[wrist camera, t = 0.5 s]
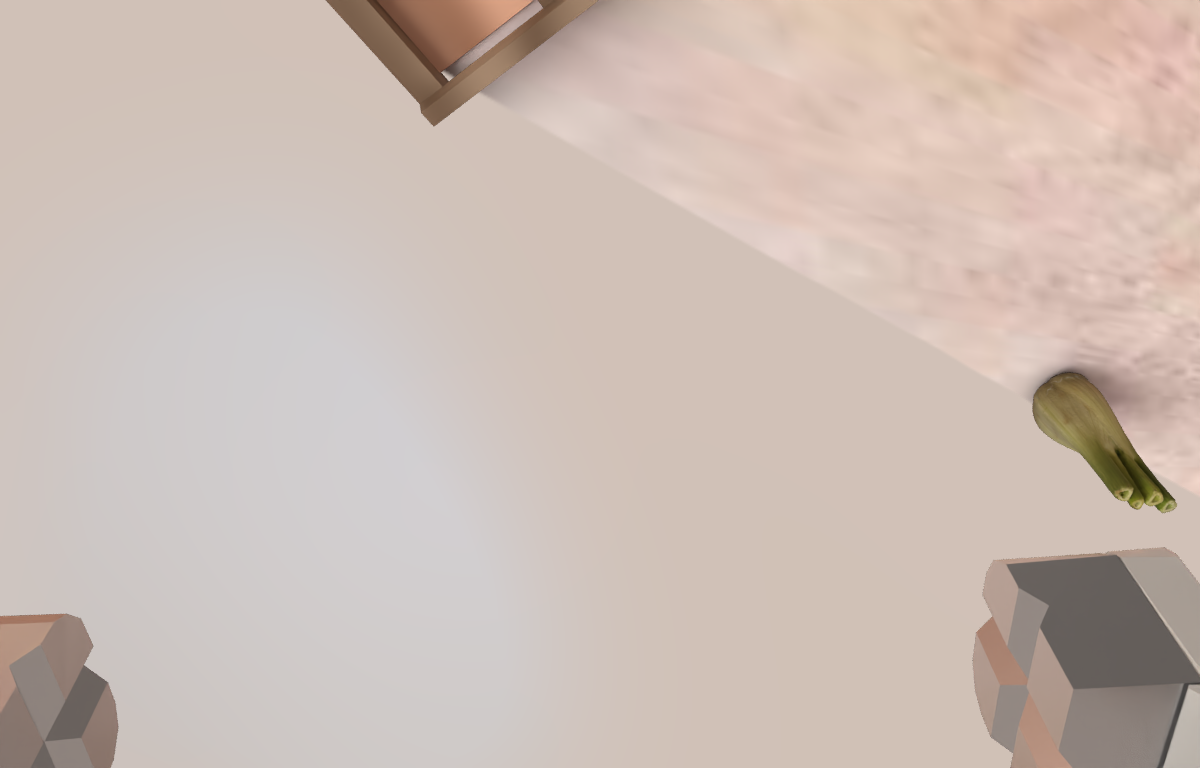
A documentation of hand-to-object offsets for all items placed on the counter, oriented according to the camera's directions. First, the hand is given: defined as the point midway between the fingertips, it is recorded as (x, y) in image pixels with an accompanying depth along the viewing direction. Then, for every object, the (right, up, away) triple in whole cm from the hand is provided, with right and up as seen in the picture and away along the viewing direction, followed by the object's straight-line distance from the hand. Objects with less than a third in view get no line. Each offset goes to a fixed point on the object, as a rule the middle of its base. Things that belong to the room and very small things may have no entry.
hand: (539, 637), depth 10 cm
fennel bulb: (+35, +2, +72) cm, 80 cm away
